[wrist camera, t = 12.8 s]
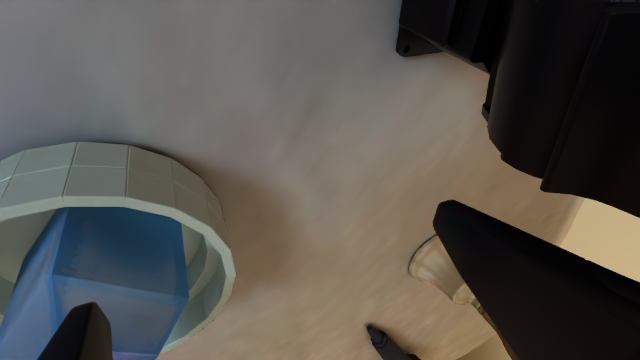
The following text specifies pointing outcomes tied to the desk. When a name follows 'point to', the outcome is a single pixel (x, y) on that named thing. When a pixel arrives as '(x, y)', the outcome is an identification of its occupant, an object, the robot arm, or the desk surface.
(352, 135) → the desk surface
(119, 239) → the perfume bottle
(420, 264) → the hand bell
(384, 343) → the microphone
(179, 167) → the bowl
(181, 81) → the desk surface
